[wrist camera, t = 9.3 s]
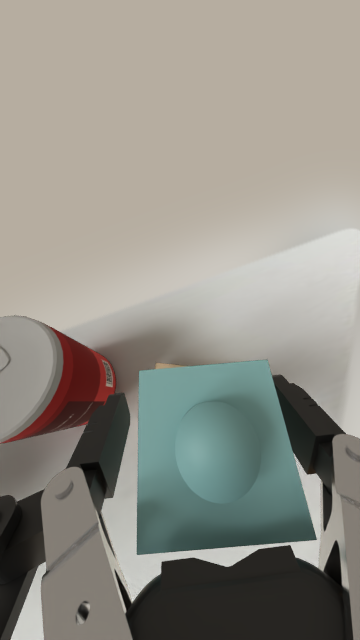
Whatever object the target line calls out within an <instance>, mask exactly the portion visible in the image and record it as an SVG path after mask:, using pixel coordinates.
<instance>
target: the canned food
mask: <svg viewBox="0 0 360 640" xmlns="http://www.w3.org/2000/svg"><path fill="white" fill-rule="evenodd" d="M115 389H116V378H115V373H114V370H113V368H112V366H111V364H110V363H109V361H108V360H107V359H106V358H105V357H103V356H102V355H100V354H98V353H97V352H95V351H93V350H91V349H89V348H88V347H86V346H84V345H82V344H81V343H79V342H77V341H75V340H73V339H72V338H70V337H68V336H66V335H64V334H63V333H61V332H59V331H57V330H55V329H54V328H52V327H49V326H48V325H46V324H44V323H42V322H39V321H37V320H34V319H31V318H28V317H24V316H4V317H0V444H1V443H7V442H12V441H16V440H20V439H25V438H29V437H33V436H38V435H42V434H46V433H51V432H55V431H59V430H64V429H68V428H72V427H77V426H81V425H84V424H87V423H88V421H89V419H90V417H91V415H92V413H93V412H94V411H95V410H96V409H97V408H98V407H99V406H101V405H105V403H106V400H107V398H108V396H109V395H110V394H114V393H115Z"/></svg>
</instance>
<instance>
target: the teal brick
mask: <svg viewBox="0 0 360 640" xmlns="http://www.w3.org/2000/svg"><path fill="white" fill-rule="evenodd" d="M309 540H317V539H316V535H315V531H314V528H313V524H312V520H311V517H310V513H309V509H308V506H307V502H306V498H305V495H304V491H303V488H302V484H301V480H300V477H299V473H298V469H297V466H296V462H295V458H294V455H293V451H292V447H291V444H290V440H289V436H288V433H287V429H286V425H285V422H284V418H283V415H282V411H281V407H280V404H279V400H278V396H277V393H276V389H275V385H274V382H273V378H272V374H271V371H270V367H269V363H268V360H256V361H245V362H233V363H222V364H210V365H199V366H187V367H176V368H164V369H153V370H141V371H139V413H138V492H137V555H141V554H153V553H165V552H177V551H189V550H201V549H213V548H225V547H237V546H249V545H261V544H273V543H285V542H297V541H309Z"/></svg>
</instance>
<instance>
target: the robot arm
mask: <svg viewBox="0 0 360 640" xmlns="http://www.w3.org/2000/svg"><path fill="white" fill-rule="evenodd" d="M272 378H273V382H274V385H275V389H276V393H277V396H278V400H279V404H280V407H281V411H282V415H283V418H284V422H285V425H286V429H287V433H288V436H289V440H290V444H291V447H292V451H293V452H294V454H295V456H296V457H297V459H298V460H299V462H300V464H301V465H302V467H303V469H304V470H305V472H306V474H315V473H317V474H318V476H319V477H320V479H321V484H320V492H321V541H320V549H319V563H318V568H317V567H315V566H314V565H312V564H310V563H308V562H306V561H304V560H301V559H299V558H295V555H294V553H293V551H292V548H291V546H290V545H288V546H280V547H273V548H265V549H258V550H257V551H255V552H254V553H252V554H250V555H249V556H247V557H245V558H244V559H242V560H241V561H239V562H237V563H236V564H234V565H232V566H230V567H225V566H221V565H218V564H214V563H210V562H207V561H203V560H200V559H196V558H187V559H179V560H172V561H164V562H162V566H161V574H160V575H158V576H157V577H155V578H154V579H153V580H152V581H150V582H149V583H148V584H147V585H146V586H145V587H144V588H143V590H142V591H141V592H140V593H139V594H138V596H137V597H136V598H135V600H134V601H132V598H131V595H130V592H129V589H128V587H127V584H126V581H125V578H124V576H123V573H122V571H121V568H120V565H119V563H118V560H117V557H116V554H115V551H114V548H113V545H112V542H111V539H110V536H109V533H108V530H107V527H106V524H105V521H104V518H103V515H102V512H101V509H102V506H103V502H104V499H106V498H113V495H114V491H115V487H116V482H117V478H118V474H119V469H120V465H121V460H122V456H123V452H124V447H125V443H126V439H127V434H128V430H129V426H130V413H129V409H128V405H127V401H126V398H125V394H124V393H118V394H110V395H109V396H108V398H107V400H106V403H105V405H101V406H99V407H98V408H97V409H96V410H95V411H94V412H93V413H92V415H91V417H90V419H89V421H88V423H87V425H86V428H85V430H84V433H83V434H82V436H81V438H80V440H79V442H78V444H77V446H76V449H75V451H74V453H73V455H72V457H71V459H70V461H69V463H68V465H67V467H66V469H65V470H63V471H61V472H60V473H59V474H57V475H56V476H55V477H54V478H53V479H52V480H51V481H50V482H49V484H48V485H47V487H46V488H45V489H44V490H42V491H40V492H38V493H35V494H33V495H31V496H29V497H27V498H24V499H22V500H20V501H18V502H17V501H16V500H15V498H14V497H13V496H10V495H6V496H2V497H0V640H10V639H11V636H12V634H13V631H14V628H15V626H16V623H17V621H18V618H19V615H20V613H21V610H22V607H23V605H24V602H25V599H26V597H27V594H28V592H29V589H30V586H31V584H32V581H33V578H34V576H35V573H36V571H37V568H38V566H39V565H40V564H42V563H44V562H46V573H45V574H44V575H43V577H42V581H41V600H42V615H43V630H44V640H360V439H359V438H356V437H354V436H351V435H347V434H346V433H345V432H344V431H343V430H342V429H341V428H340V427H339V426H338V425H337V424H336V423H335V422H334V421H333V420H332V419H331V418H330V417H329V416H328V415H327V414H326V413H325V411H324V410H323V409H322V408H321V407H320V406H318V405H317V403H316V402H315V401H314V400H313V399H311V397H310V396H309V395H308V394H307V393H306V392H305V391H304V390H303V389H302V388H300V387H299V386H297V385H295V384H294V383H290V384H289V382H288V381H287V380H286V379H285V378H284V377H283V376H282V375H274V376H272Z"/></svg>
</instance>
